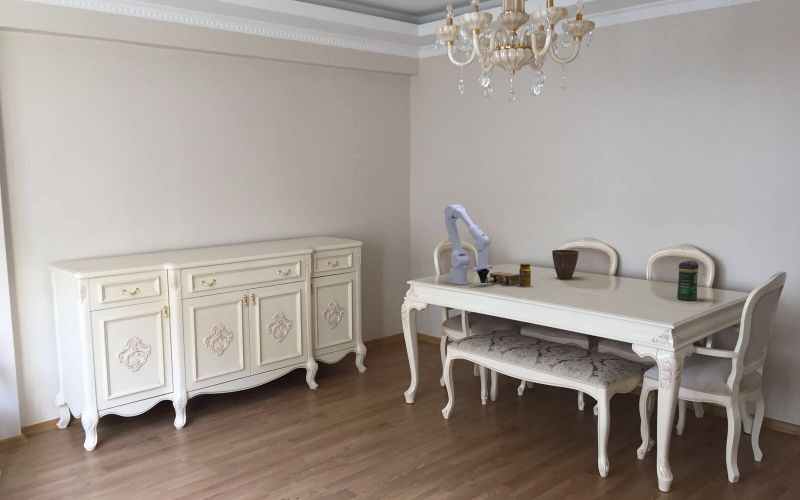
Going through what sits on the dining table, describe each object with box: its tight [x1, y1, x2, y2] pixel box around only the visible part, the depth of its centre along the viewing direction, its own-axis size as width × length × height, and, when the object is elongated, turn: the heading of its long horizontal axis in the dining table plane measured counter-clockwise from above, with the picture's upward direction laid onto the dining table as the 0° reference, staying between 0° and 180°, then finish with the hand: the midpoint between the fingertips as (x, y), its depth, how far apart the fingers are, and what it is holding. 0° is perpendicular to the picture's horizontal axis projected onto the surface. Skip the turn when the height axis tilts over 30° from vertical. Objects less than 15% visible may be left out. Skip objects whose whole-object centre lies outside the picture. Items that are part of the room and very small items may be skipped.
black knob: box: [501, 278, 508, 284], centre depth 364 cm, size 3×9×3 cm, turn 134°
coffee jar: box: [676, 260, 699, 302], centre depth 318 cm, size 10×8×19 cm
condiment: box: [512, 263, 533, 289], centre depth 360 cm, size 7×8×12 cm
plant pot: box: [551, 249, 580, 281], centre depth 383 cm, size 15×15×16 cm
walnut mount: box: [489, 271, 519, 287], centre depth 368 cm, size 14×8×6 cm, turn 44°
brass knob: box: [484, 276, 496, 284], centre depth 367 cm, size 3×9×3 cm, turn 134°
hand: (482, 283), depth 362 cm, fingers closed
